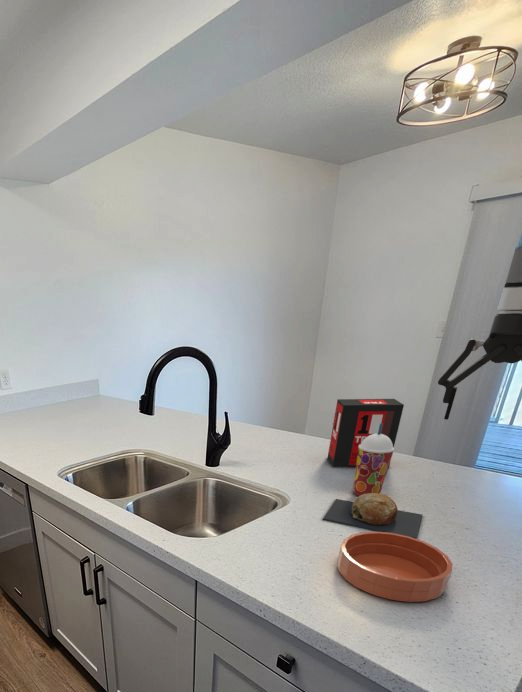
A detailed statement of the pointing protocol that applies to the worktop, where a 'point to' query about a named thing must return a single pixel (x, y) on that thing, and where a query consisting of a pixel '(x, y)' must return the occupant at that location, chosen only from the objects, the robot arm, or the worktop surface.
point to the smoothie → (372, 463)
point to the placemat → (401, 525)
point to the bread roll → (374, 509)
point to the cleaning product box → (361, 426)
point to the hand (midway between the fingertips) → (484, 421)
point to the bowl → (394, 566)
